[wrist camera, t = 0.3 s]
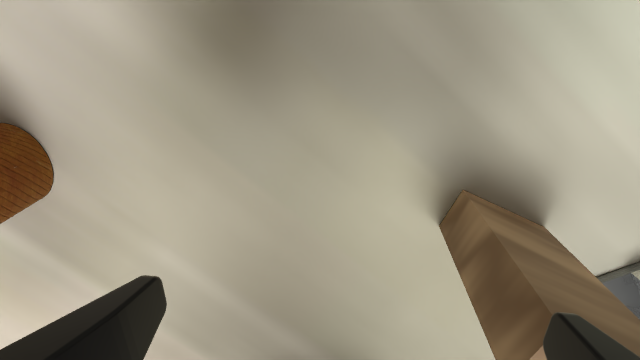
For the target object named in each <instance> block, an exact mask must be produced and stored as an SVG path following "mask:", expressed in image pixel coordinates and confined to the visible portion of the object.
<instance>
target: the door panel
mask: <svg viewBox="0 0 640 360" xmlns="http://www.w3.org/2000/svg"><path fill="white" fill-rule="evenodd" d="M439 227H440V230H441V232H442V234H443V237H444V239H445V241H446V244H447V246H448V248H449V251H450V253H451V256H452V258H453V260H454V263H455V265H456V267H457V270H458V272H459V274H460V277H461V279H462V281H463V284H464V286H465V288H466V291H467V293H468V296H469V298H470V300H471V303H472V305H473V307H474V310H475V312H476V314H477V317H478V319H479V321H480V324H481V326H482V329H483V331H484V333H485V336H486V338H487V340H488V343H489V345H490V347H491V350H492V352H493V354H494V357H495V359H496V360H547V359H546V356H545V353H544V349H543V339H544V336H545V333H546V330H547V327H548V325H549V322H550V319H551V317H552V315H553V314H554V313H556V312H563V313H573V314H577V315H579V316H581V317H582V318H584V319H585V320H586V321H588V322H589V323H591V324H592V325H594V326H595V327H597V328H598V329H600V330H601V331H603V332H604V333H606V334H607V335H608V336H610V337H611V338H613V339H614V340H616V341H617V342H619V343H620V344H622V345H623V346H625V347H626V348H627V349H629V350H630V351H632V352H633V353H635V354H636V355H638V356H639V357H640V320H639V319H638V318H637V317H636V316H635V315H634V314H633V313H632V312H631V311H630V310H629V309H628V308H627V307H626V306H625V305H624V304H623V303H622V302H621V301H620V300H619V299H618V298H617V297H616V296H615V295H614V294H613V293H612V292H611V291H610V290H609V289H608V288H606V287H605V286H604V285H603V284H602V283H601V282H600V281H599V280H598V279H597V278H596V277H595V276H594V275H593V274H592V273H591V272H590V271H589V270H588V269H587V268H586V267H585V266H584V265H583V264H582V263H581V262H580V261H579V260H578V259H577V258H576V257H575V256H574V255H573V254H571V253H570V252H569V251H568V250H567V249H566V248H565V247H564V246H563V245H562V244H561V243H560V242H559V241H558V240H557V239H556V238H555V237H554V236H553V235H552V234H551V233H550V232H549V231H548V230H547V229H546V228H545V227H543V226H541V225H539V224H536V223H534V222H532V221H530V220H528V219H526V218H523V217H521V216H519V215H517V214H515V213H512V212H510V211H508V210H506V209H504V208H502V207H499V206H497V205H495V204H493V203H491V202H489V201H486V200H484V199H482V198H480V197H478V196H475V195H473V194H471V193H469V192H467V191H465V190H462V192H461V193H460V195H459V196H458V198H457V199H456V201H455V202H454V204H453V205H452V207H451V209H450V210H449V212H448V213H447V215H446V216H445V218H444V219H443V221H442V222H441V224H440V225H439Z"/></svg>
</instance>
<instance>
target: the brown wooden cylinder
mask: <svg viewBox="0 0 640 360" xmlns="http://www.w3.org/2000/svg"><path fill="white" fill-rule="evenodd" d="M52 183H53V170H52V166H51V163H50V160H49V158H48V156H47V154H46V153H45V151H44V150H43V148H42V147H41V145H40V144H39V143H38V142H37V141H36V140H35V139H34V138H33V137H32V136H31V135H30V134H28V133H27V132H25V131H23V130H22V129H20V128H18V127H16V126H14V125H10V124H6V123H0V224H1V223H2V222H4V221H6V220H7V219H9V218H10V217H13V216H14V215H15V214H17V213H18V212H21V211H22V210H24V209H25V208H27V207H29V206H30V205H32V204H33V203H35V202H37V201H38V200H40V199H42V198H43V197H45V196H46V195H47V194H48V192H49V191H50V189H51V186H52Z"/></svg>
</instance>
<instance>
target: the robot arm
mask: <svg viewBox="0 0 640 360" xmlns="http://www.w3.org/2000/svg"><path fill="white" fill-rule="evenodd" d="M166 306H167V303H166V297H165V293H164V289H163V284H162V281H161V279H160V278H159V277H157V276H147V275H144V276H140V277H138V278H136V279H134V280H132V281H131V282H129V283H127V284H125V285H123V286H121V287H119V288H117V289H115V290H113V291H111V292H110V293H108V294H106V295H104V296H102V297H100V298H98V299H96V300H94V301H92V302H90V303H89V304H87V305H85V306H83V307H81V308H79V309H77V310H75V311H73V312H71V313H69V314H68V315H66V316H64V317H62V318H60V319H58V320H56V321H54V322H52V323H50V324H48V325H47V326H45V327H43V328H41V329H39V330H37V331H35V332H33V333H31V334H29V335H27V336H26V337H24V338H22V339H20V340H18V341H16V342H14V343H12V344H10V345H8V346H6V347H5V348H3V349H1V350H0V360H143V359H144V357H145V355H146V353H147V351H148V348H149V346H150V344H151V342H152V340H153V337H154V335H155V333H156V331H157V329H158V327H159V324H160V322H161V320H162V318H163V316H164V314H165V311H166ZM543 349H544V353H545V356H546V359H547V360H640V357H639V356H638V355H636V354H635V353H633V352H632V351H630V350H629V349H627V348H626V347H625V346H623V345H622V344H620V343H619V342H617V341H616V340H614V339H613V338H611V337H610V336H608V335H607V334H606V333H604V332H603V331H601V330H600V329H598V328H597V327H595V326H594V325H592V324H591V323H589V322H588V321H586V320H585V319H584V318H582V317H581V316H579V315H577V314H573V313H563V312H556V313H554V314H553V315H552V317H551V319H550V322H549V325H548V327H547V330H546V333H545V336H544V339H543Z"/></svg>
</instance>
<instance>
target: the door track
mask: <svg viewBox="0 0 640 360" xmlns="http://www.w3.org/2000/svg"><path fill="white" fill-rule="evenodd" d="M597 279H598V280H599V281H600V282H601V283H602V284H603V285H604V286H605V287H606V288H608V289H609V290H610V291H611V292H612V293H613V294H614V295H615V296H616V297H617V298H618V299H619V300H620V301H621V302H622V303H623V304H624V305H625V306H626V307H627V308H628V309H629V310H630V311H631V312H632V313H633V314H634V315H635V316H636V317H637V318H638V319H639V320H640V262H638V263H636V264H633V265H630V266H627V267H624V268H622V269H619V270H616V271H613V272H610V273H608V274H605V275H602V276H599V277H597Z"/></svg>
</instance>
